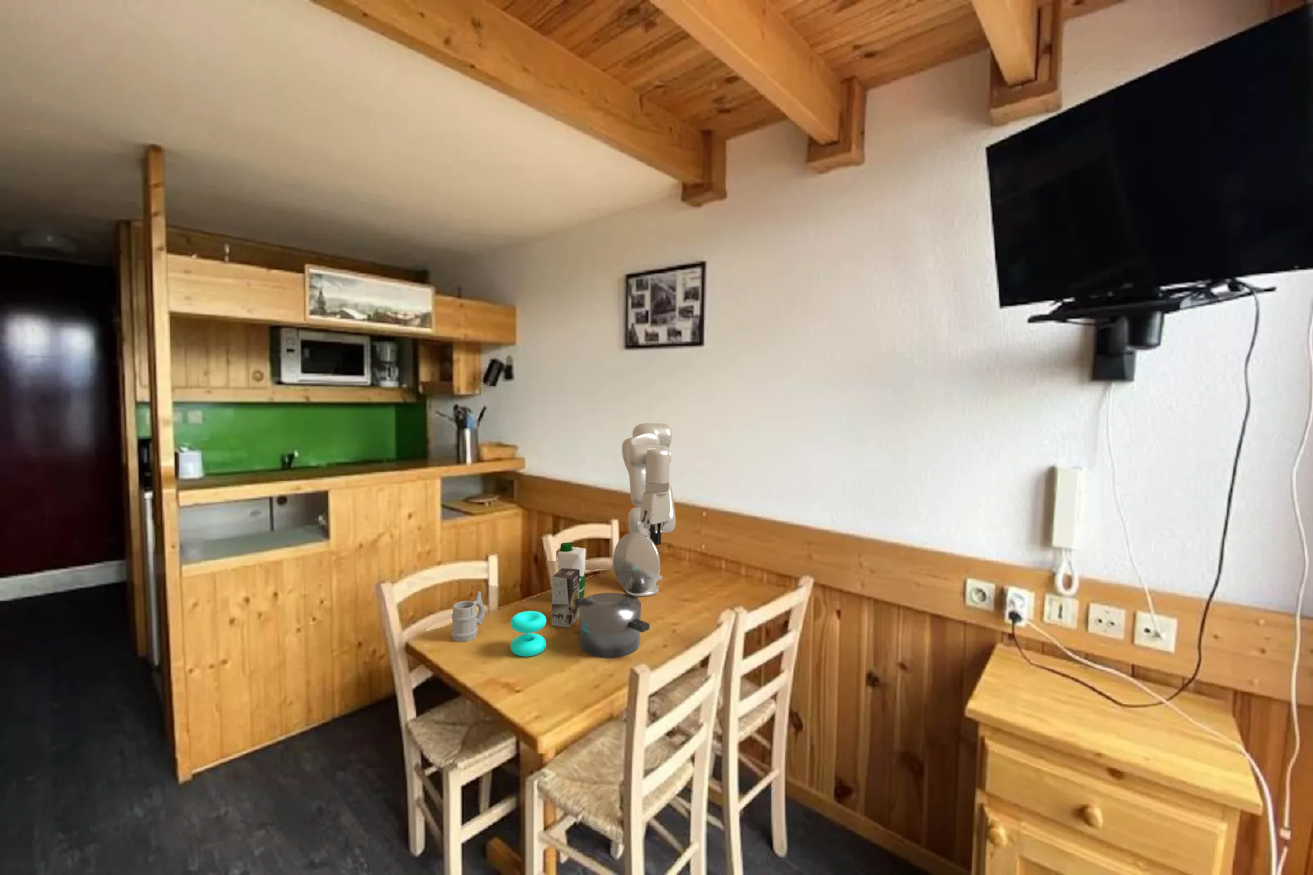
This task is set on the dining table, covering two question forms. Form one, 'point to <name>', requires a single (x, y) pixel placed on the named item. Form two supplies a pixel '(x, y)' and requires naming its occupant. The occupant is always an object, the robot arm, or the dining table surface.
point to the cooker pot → (610, 624)
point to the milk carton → (573, 562)
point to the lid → (636, 562)
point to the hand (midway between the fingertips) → (655, 543)
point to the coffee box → (565, 597)
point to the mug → (467, 619)
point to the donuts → (528, 633)
